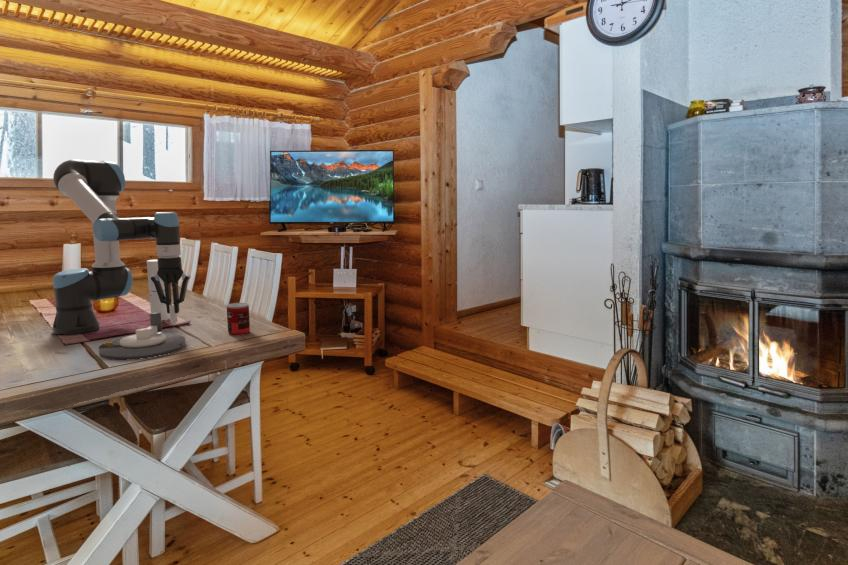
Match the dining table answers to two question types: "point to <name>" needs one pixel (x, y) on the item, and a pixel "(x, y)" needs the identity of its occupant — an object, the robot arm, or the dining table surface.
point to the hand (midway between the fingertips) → (173, 322)
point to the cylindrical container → (154, 298)
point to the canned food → (238, 318)
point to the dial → (146, 334)
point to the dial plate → (141, 348)
